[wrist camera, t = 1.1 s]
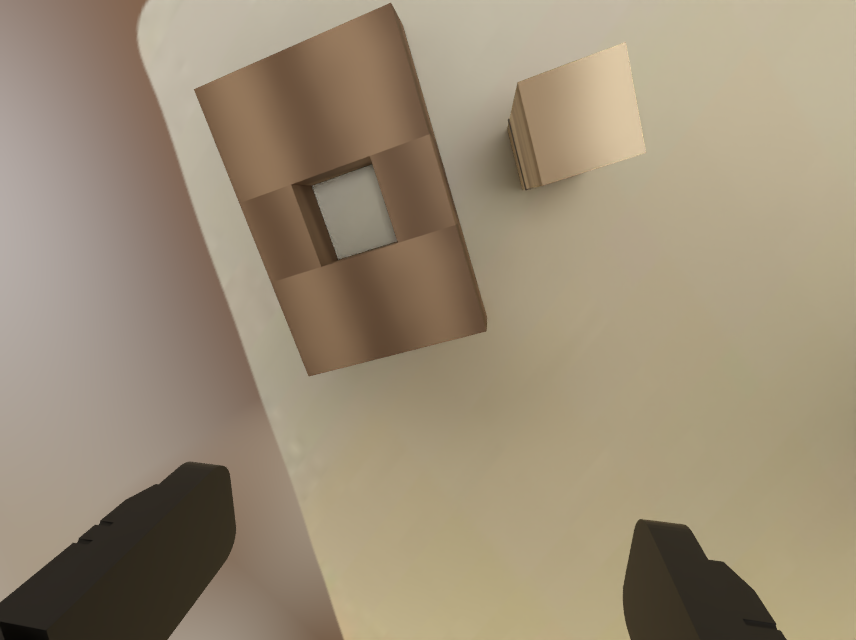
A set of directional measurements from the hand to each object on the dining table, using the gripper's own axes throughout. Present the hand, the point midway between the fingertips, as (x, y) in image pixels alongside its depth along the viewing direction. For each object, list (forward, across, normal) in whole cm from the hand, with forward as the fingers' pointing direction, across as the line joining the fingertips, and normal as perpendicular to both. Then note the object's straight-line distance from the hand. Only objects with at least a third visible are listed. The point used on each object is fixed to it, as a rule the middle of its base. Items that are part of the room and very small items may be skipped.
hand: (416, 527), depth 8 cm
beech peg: (+21, -4, -9) cm, 23 cm away
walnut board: (+21, +8, -5) cm, 23 cm away
